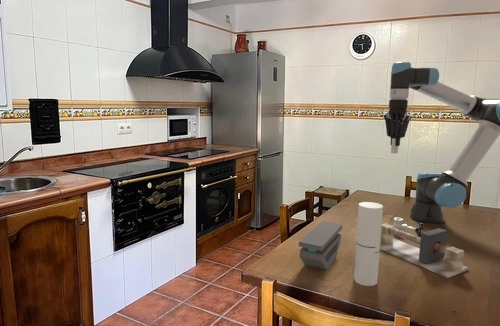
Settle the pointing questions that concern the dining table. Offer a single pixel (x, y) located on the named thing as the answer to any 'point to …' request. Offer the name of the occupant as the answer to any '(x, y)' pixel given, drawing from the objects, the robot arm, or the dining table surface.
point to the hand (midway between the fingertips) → (394, 153)
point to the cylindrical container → (368, 243)
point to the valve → (400, 226)
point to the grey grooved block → (321, 245)
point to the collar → (431, 245)
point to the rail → (411, 253)
